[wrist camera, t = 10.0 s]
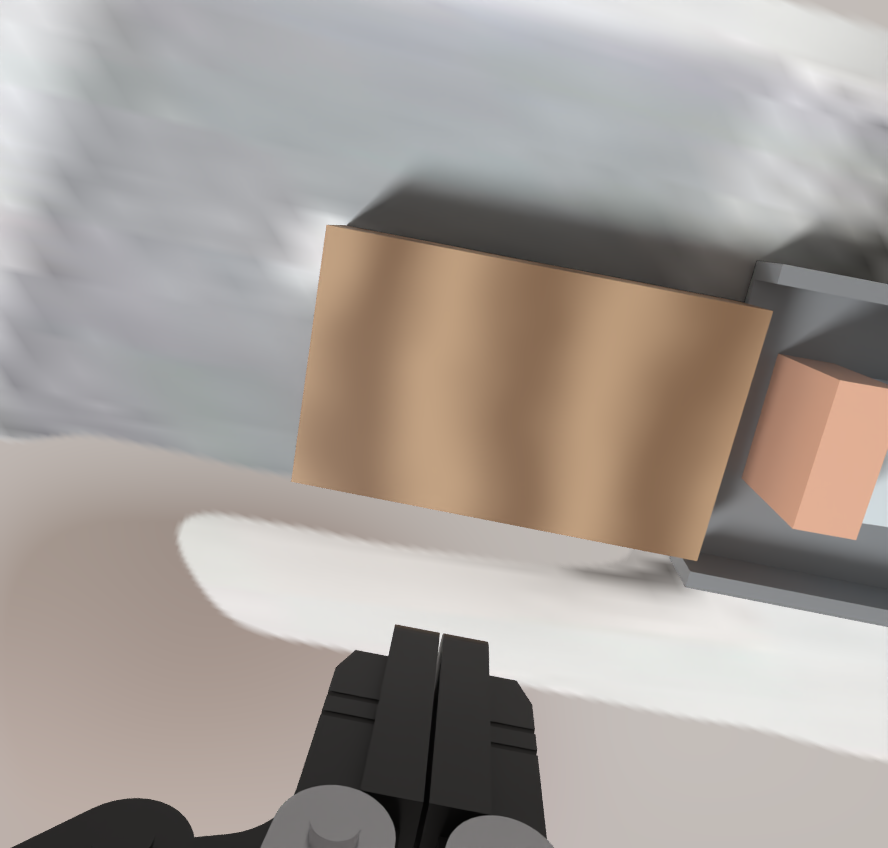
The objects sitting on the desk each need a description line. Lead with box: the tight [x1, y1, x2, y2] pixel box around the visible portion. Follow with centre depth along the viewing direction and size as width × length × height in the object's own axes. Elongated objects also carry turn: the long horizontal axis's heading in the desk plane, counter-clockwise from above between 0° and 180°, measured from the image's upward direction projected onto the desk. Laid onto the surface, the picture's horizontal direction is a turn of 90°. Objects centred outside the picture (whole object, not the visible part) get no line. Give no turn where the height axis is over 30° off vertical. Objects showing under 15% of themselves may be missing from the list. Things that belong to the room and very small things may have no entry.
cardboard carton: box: [291, 225, 773, 561], centre depth 32 cm, size 18×11×4 cm, turn 79°
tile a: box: [742, 354, 888, 540], centre depth 31 cm, size 6×6×2 cm
